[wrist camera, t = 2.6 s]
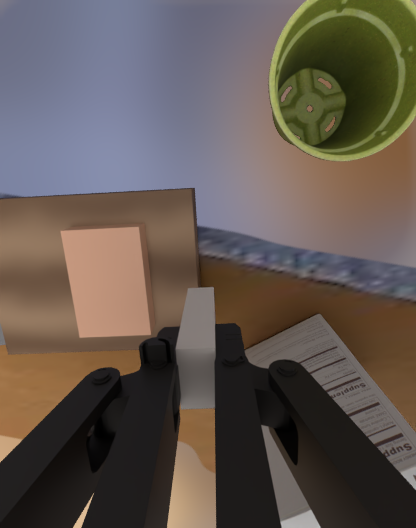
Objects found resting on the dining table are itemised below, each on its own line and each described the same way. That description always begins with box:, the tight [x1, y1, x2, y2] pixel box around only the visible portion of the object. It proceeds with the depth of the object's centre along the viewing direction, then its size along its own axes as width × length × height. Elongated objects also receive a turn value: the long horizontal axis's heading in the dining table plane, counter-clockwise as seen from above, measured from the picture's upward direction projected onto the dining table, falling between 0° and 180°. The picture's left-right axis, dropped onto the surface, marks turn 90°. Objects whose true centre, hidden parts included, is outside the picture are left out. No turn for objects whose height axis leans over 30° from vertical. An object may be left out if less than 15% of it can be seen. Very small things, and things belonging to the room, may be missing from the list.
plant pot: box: [269, 0, 416, 161], centre depth 22 cm, size 9×9×9 cm
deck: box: [0, 188, 201, 355], centre depth 28 cm, size 14×18×4 cm
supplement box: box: [245, 314, 416, 528], centre depth 25 cm, size 10×9×17 cm
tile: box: [61, 223, 155, 338], centre depth 25 cm, size 9×6×2 cm, turn 3°
